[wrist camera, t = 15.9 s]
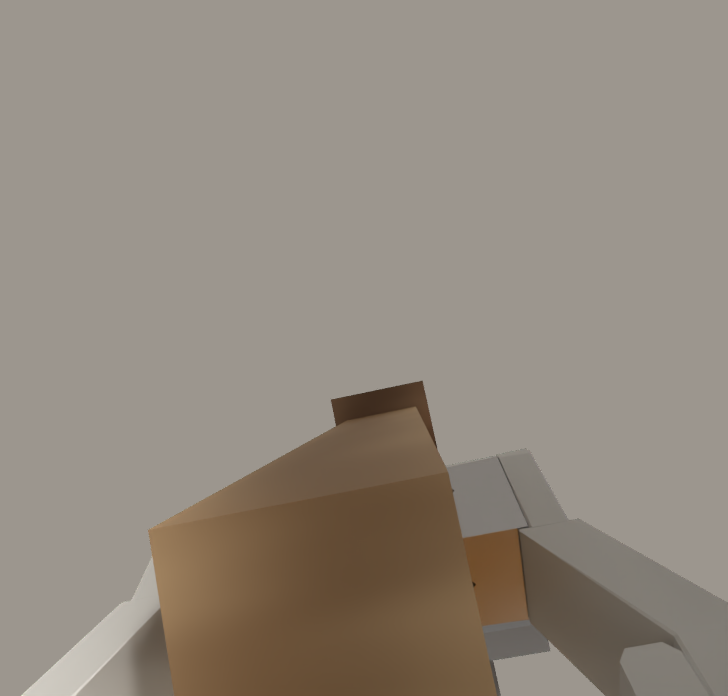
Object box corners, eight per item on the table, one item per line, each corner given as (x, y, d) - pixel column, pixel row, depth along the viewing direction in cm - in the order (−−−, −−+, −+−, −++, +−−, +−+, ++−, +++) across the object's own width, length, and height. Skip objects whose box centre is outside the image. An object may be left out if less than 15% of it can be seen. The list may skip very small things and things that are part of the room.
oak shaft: (436, 460, 24) (419, 381, 24) (579, 802, 4) (477, 358, 5) (358, 475, 24) (343, 397, 25) (149, 863, 5) (86, 439, 5)
